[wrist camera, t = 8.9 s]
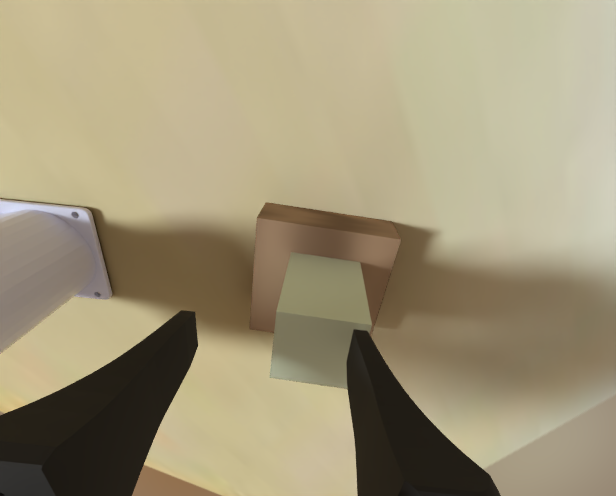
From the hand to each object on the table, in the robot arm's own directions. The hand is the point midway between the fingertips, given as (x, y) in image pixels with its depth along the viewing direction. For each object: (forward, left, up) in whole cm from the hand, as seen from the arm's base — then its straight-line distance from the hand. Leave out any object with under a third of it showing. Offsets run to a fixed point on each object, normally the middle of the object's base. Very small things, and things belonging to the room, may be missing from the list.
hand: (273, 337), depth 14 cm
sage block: (+2, -1, -7) cm, 7 cm away
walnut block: (+2, -2, -10) cm, 11 cm away
